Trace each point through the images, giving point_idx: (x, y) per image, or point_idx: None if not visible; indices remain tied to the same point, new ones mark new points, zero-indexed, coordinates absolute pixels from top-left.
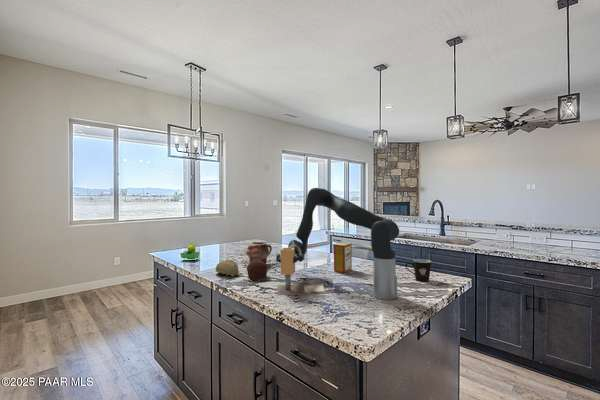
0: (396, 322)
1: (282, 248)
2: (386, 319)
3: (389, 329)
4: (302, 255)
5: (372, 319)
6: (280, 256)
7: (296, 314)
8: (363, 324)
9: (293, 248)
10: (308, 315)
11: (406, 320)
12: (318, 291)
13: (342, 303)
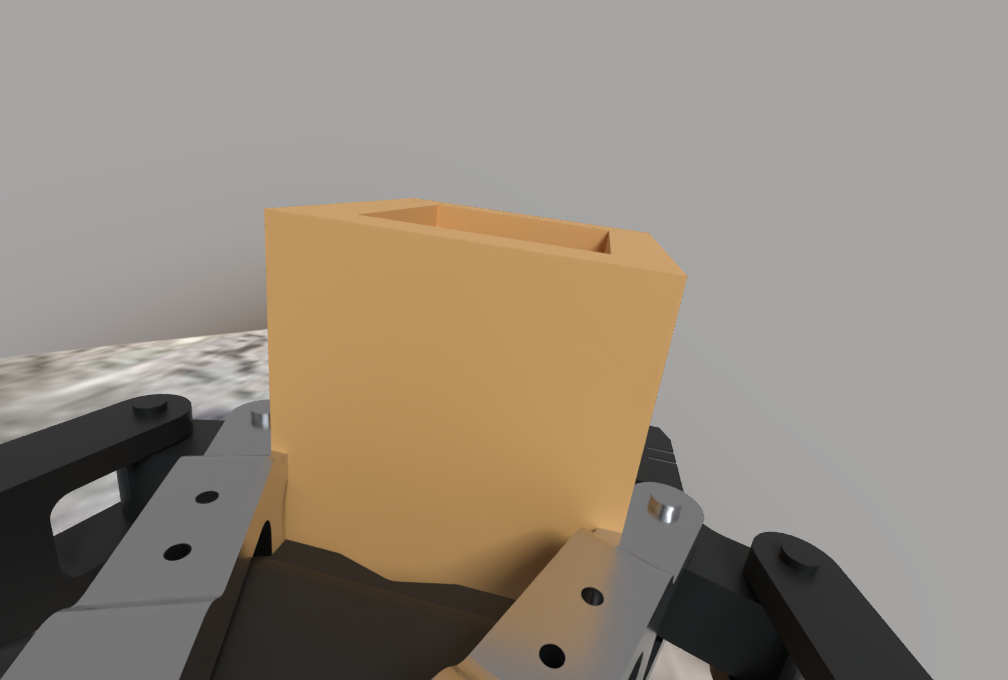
0: (94, 355)
1: (652, 251)
2: (100, 369)
3: (174, 343)
4: (9, 443)
5: (153, 377)
6: (670, 486)
7: None
8: (224, 367)
9: (349, 206)
10: None
11: (37, 355)
12: None
13: (93, 501)
